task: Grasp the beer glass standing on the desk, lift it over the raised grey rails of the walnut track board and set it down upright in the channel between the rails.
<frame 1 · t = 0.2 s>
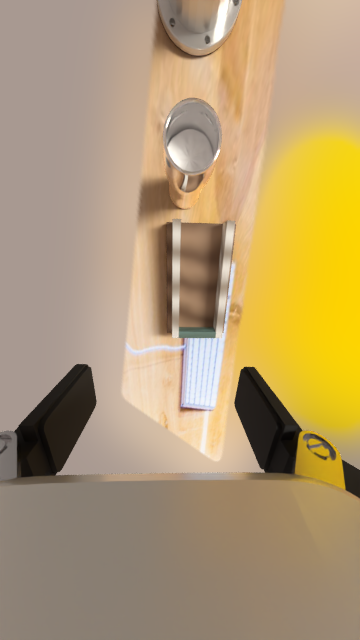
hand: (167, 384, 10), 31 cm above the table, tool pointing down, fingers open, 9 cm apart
track board: (197, 283, 39), on the table
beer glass: (184, 191, 33), on the table
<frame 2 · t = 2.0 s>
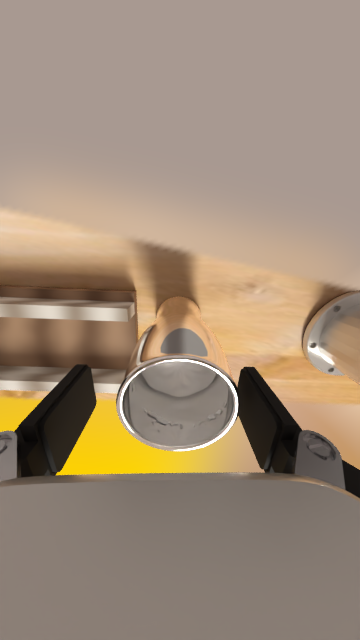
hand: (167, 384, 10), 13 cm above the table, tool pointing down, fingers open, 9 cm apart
track board: (53, 336, 24), on the table
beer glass: (178, 317, 23), on the table
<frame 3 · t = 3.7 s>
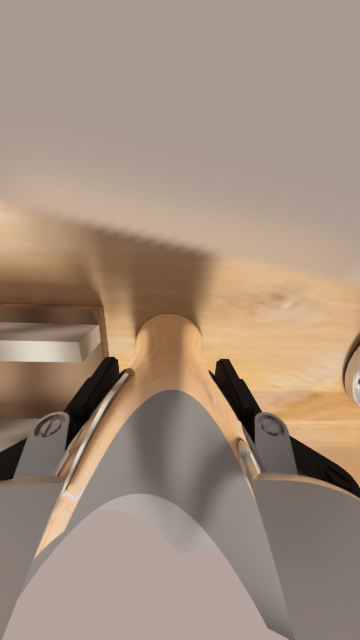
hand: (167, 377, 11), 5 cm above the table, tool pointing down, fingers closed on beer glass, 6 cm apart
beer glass: (169, 343, 16), on the table, touching gripper
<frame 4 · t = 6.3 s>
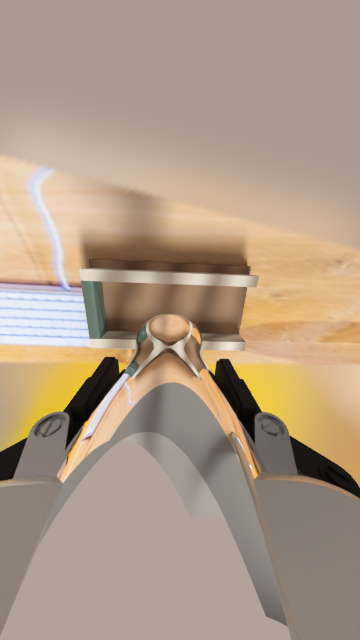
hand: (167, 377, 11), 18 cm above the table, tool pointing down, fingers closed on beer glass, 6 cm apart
track board: (170, 306, 28), on the table
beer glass: (169, 343, 16), point 13 cm above the table, touching gripper
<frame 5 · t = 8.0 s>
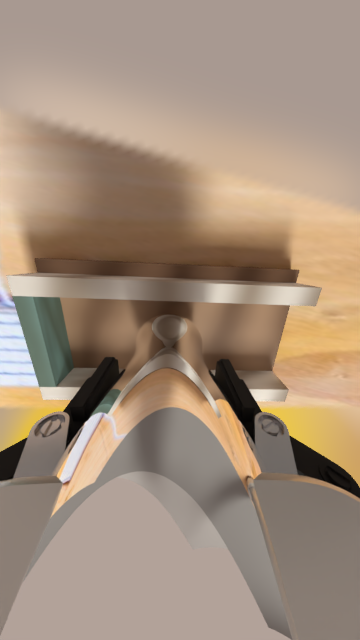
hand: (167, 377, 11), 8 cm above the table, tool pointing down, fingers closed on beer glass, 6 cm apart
track board: (170, 330, 19), on the table
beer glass: (169, 343, 16), point 3 cm above the table, touching gripper
when the fingers open (7 cm above the table, at t = 9.2 s): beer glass drops 1 cm, resting on track board.
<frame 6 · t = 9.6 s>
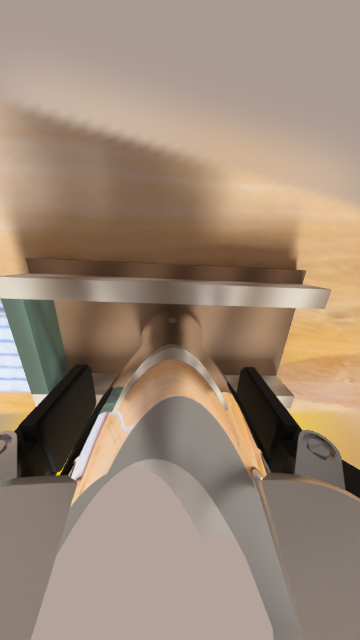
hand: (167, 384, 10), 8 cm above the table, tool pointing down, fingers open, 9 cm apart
track board: (169, 333, 18), on the table
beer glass: (172, 337, 17), point 1 cm above the table, touching track board
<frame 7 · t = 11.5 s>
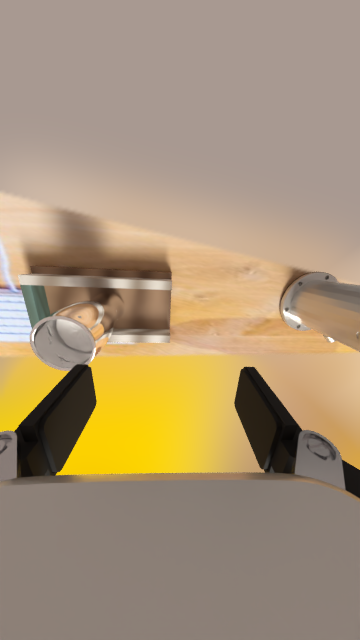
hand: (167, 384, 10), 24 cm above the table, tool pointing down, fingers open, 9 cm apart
track board: (109, 306, 33), on the table
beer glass: (109, 307, 32), point 1 cm above the table, touching track board
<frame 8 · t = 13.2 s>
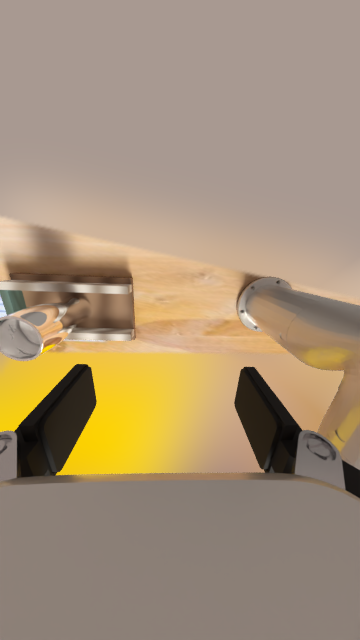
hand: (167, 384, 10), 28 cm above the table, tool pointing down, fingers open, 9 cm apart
track board: (79, 307, 37), on the table
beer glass: (78, 308, 36), point 1 cm above the table, touching track board
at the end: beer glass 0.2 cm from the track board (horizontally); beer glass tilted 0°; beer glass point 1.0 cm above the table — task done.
